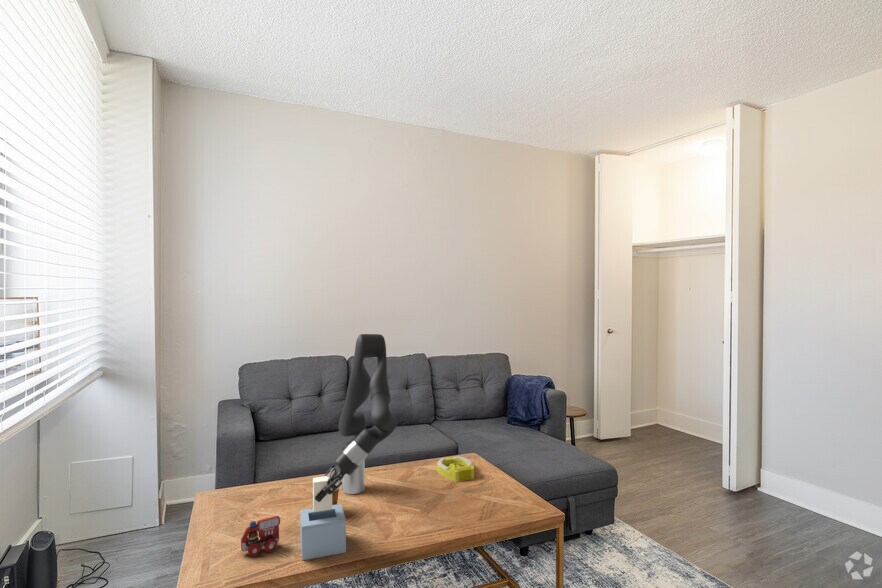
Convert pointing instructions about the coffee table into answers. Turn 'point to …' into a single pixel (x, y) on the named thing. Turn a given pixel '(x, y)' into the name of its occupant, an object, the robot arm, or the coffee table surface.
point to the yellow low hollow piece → (456, 468)
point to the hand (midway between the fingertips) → (316, 497)
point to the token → (327, 500)
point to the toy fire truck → (261, 536)
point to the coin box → (322, 532)
